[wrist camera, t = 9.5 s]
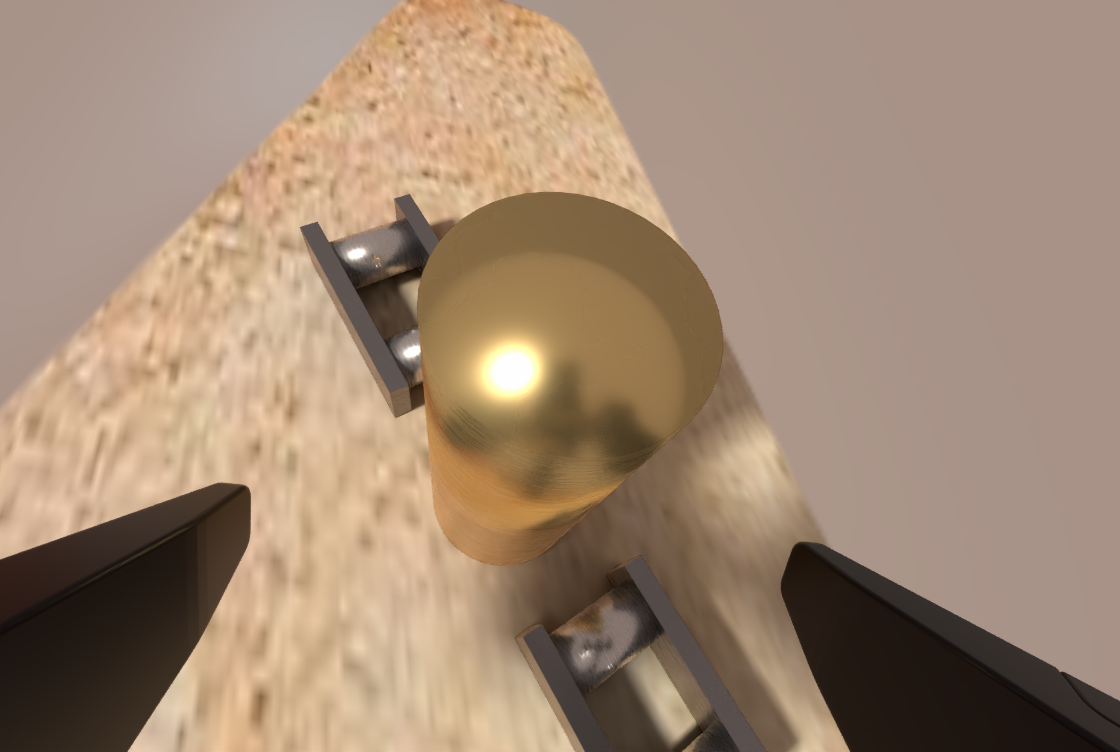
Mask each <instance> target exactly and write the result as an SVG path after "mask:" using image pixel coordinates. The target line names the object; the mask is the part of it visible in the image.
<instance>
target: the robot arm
mask: <svg viewBox="0 0 1120 752" xmlns="http://www.w3.org/2000/svg"><path fill="white" fill-rule="evenodd" d="M250 531H251V493H250V490H249V488H248V487H247V486H246V485H241V484H231V483H216V484H213V485H210V486H207V487H205V488H202V489H199V490H196V491H193V492H190V493H188V494H185V495H182V496H179V497H176V498H173V499H171V500H168V501H165V502H162V503H159V504H156V505H154V506H151V507H148V508H145V509H142V510H139V511H137V512H134V513H131V514H128V515H125V516H122V517H120V518H117V519H114V520H111V521H108V522H105V523H103V524H100V525H97V526H94V527H91V528H88V529H85V530H83V531H80V532H77V533H74V534H71V535H68V536H66V537H63V538H60V539H57V540H54V541H51V542H49V543H46V544H43V545H40V546H37V547H34V548H32V549H29V550H26V551H23V552H20V553H17V554H15V555H12V556H9V557H6V558H3V559H0V752H128V750H129V749H130V747H131V745H132V744H133V742H134V741H135V739H136V738H137V736H138V735H139V733H140V732H141V730H142V729H143V727H144V726H145V724H146V722H147V721H148V719H149V718H150V716H151V715H152V713H153V712H154V710H155V709H156V707H157V706H158V704H159V703H160V701H161V699H162V698H163V696H164V695H165V693H166V692H167V690H168V689H169V687H170V686H171V684H172V683H173V681H174V679H175V678H176V676H177V675H178V673H179V672H180V670H181V669H182V667H183V666H184V664H185V663H186V661H187V660H188V658H189V656H190V655H191V653H192V652H193V650H194V648H195V647H196V645H197V643H198V642H199V640H200V638H201V637H202V635H203V633H204V631H205V629H206V627H207V625H208V624H209V622H210V620H211V618H212V616H213V614H214V612H215V610H216V608H217V606H218V604H219V602H220V600H221V598H222V596H223V594H224V592H225V590H226V588H227V586H228V584H229V582H230V580H231V578H232V576H233V574H234V572H235V570H236V568H237V566H238V564H239V562H240V561H241V559H242V557H243V555H244V553H245V551H246V548H247V546H248V543H249V539H250ZM781 593H782V597H783V600H784V602H785V605H786V607H787V610H788V613H789V615H790V618H791V620H792V623H793V625H794V628H795V631H796V633H797V636H798V638H799V641H800V644H801V646H802V649H803V651H804V654H805V656H806V659H807V662H808V664H809V667H810V669H811V672H812V674H813V676H814V679H815V681H816V683H817V685H818V687H819V690H820V692H821V694H822V696H823V698H824V700H825V702H826V704H827V706H828V708H829V710H830V712H831V714H832V716H833V718H834V720H835V722H836V724H837V726H838V728H839V730H840V732H841V734H842V736H843V738H844V740H845V742H846V744H847V746H848V748H849V750H850V752H1120V701H1119V700H1117V699H1114V698H1113V697H1111V696H1109V695H1107V694H1105V693H1103V692H1101V691H1099V690H1097V689H1095V688H1094V687H1092V686H1090V685H1088V684H1086V683H1084V682H1082V681H1080V680H1078V679H1077V678H1074V677H1073V676H1071V675H1069V674H1067V673H1065V672H1059V670H1058V669H1057V668H1056V667H1053V666H1052V665H1050V664H1048V663H1046V662H1044V661H1042V660H1040V659H1039V658H1037V657H1035V656H1033V655H1031V654H1029V653H1027V652H1025V651H1023V650H1022V649H1020V648H1018V647H1016V646H1014V645H1012V644H1010V643H1008V642H1006V641H1004V640H1003V639H1001V638H999V637H997V636H995V635H993V634H991V633H989V632H987V631H986V630H984V629H982V628H980V627H978V626H976V625H974V624H972V623H970V622H969V621H967V620H965V619H963V618H961V617H959V616H957V615H955V614H953V613H951V612H950V611H948V610H946V609H944V608H942V607H940V606H938V605H936V604H934V603H933V602H931V601H929V600H927V599H925V598H923V597H921V596H919V595H917V594H915V593H914V592H911V591H910V590H908V589H906V588H904V587H902V586H900V585H898V584H896V583H894V582H893V581H891V580H889V579H887V578H885V577H883V576H881V575H879V574H878V573H876V572H874V571H872V570H870V569H868V568H866V567H864V566H862V565H860V564H859V563H857V562H855V561H853V560H851V559H849V558H847V557H845V556H843V555H842V554H840V553H838V552H836V551H834V550H832V549H830V548H828V547H826V546H825V545H822V544H819V543H811V542H798V543H796V544H795V545H794V547H793V548H792V551H791V554H790V557H789V560H788V562H787V565H786V568H785V571H784V574H783V577H782V580H781Z"/></svg>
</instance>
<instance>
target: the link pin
mask: <svg viewBox="0 0 1120 752" xmlns="http://www.w3.org/2000/svg"><path fill="white" fill-rule="evenodd" d="M417 315H418V328H419V339H420V351H421V363H422V374H423V386H424V397H425V409H426V421H427V432H428V444H429V455H430V467H431V479H432V490H433V502H434V509H435V514H436V517H437V520H438V522H439V525H440V527H441V529H442V530H443V532H444V534H445V535H446V537H447V538H448V539H449V541H450V542H451V543H452V544H453V545H454V546H455V547H456V548H457V549H459V550H460V551H461V552H462V553H464V554H466V555H467V556H469V557H471V558H473V559H475V560H477V561H480V562H483V563H487V564H491V565H500V566H501V565H515V564H520V563H523V562H527V561H529V560H531V559H534V558H536V557H538V556H539V555H541V554H542V553H544V552H545V551H547V550H548V549H549V548H550V547H551V546H552V545H554V544H555V543H556V542H557V541H558V540H559V539H560V538H561V537H562V536H564V535H565V534H566V533H567V532H568V531H569V530H570V529H571V528H572V527H573V526H575V525H576V524H577V523H578V522H579V521H580V520H581V519H582V518H583V517H585V516H586V515H587V514H588V513H589V512H590V511H591V510H592V509H593V508H595V507H596V506H597V505H598V504H599V503H600V502H601V501H602V500H603V499H605V498H606V497H607V496H608V495H609V494H610V493H611V492H612V491H613V490H614V489H616V488H617V487H618V486H619V485H620V484H621V483H622V482H623V481H624V480H626V479H627V478H628V477H629V476H630V475H631V474H632V473H633V472H634V471H636V470H637V469H638V468H639V467H640V466H641V465H642V464H643V463H644V462H646V461H647V460H648V459H649V458H650V457H651V456H652V455H653V454H654V453H655V452H657V451H658V450H659V449H660V448H661V447H662V446H663V445H664V444H665V443H667V442H668V441H669V440H670V439H671V438H672V437H673V436H674V435H675V434H677V433H678V432H679V431H680V430H681V429H682V428H683V427H684V426H685V425H687V424H688V423H689V422H690V421H691V420H692V419H693V417H694V416H695V415H696V414H697V413H698V412H699V410H700V409H701V408H702V407H703V405H704V404H705V402H706V400H707V399H708V397H709V396H710V394H711V392H712V390H713V387H714V385H715V383H716V380H717V378H718V374H719V370H720V366H721V362H722V352H723V333H722V324H721V319H720V315H719V310H718V307H717V304H716V301H715V299H714V296H713V293H712V291H711V289H710V288H709V286H708V283H707V281H706V279H705V278H704V276H703V275H702V273H701V271H700V270H699V268H698V267H697V265H696V264H695V263H694V262H693V260H692V259H691V258H690V257H689V255H688V254H687V253H686V252H685V251H684V250H683V249H682V248H681V247H680V246H679V245H678V244H677V243H676V242H675V241H674V240H673V239H672V238H671V237H670V236H668V235H667V234H666V233H665V232H663V231H662V230H661V229H660V228H658V227H657V226H655V225H654V224H652V223H651V222H649V221H648V220H646V219H645V218H643V217H641V216H639V215H637V214H636V213H634V212H632V211H630V210H628V209H625V208H623V207H621V206H618V205H616V204H613V203H611V202H607V201H604V200H601V199H598V198H594V197H589V196H585V195H580V194H572V193H563V192H538V193H527V194H521V195H517V196H512V197H507V198H504V199H501V200H498V201H495V202H492V203H490V204H488V205H486V206H484V207H482V208H479V209H477V210H476V211H474V212H472V213H471V214H469V215H468V216H466V217H465V218H463V219H462V220H461V221H459V222H458V223H457V224H456V225H455V226H454V227H452V228H451V229H450V230H449V231H448V232H447V233H446V235H445V236H444V237H443V238H442V239H441V240H440V241H439V243H438V244H437V246H436V247H435V249H434V250H433V252H432V254H431V255H430V257H429V259H428V261H427V264H426V266H425V268H424V271H423V273H422V277H421V281H420V285H419V289H418V301H417Z"/></svg>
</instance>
